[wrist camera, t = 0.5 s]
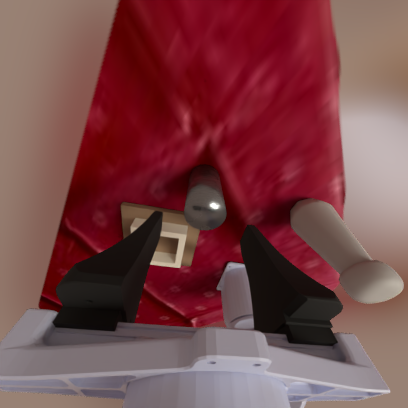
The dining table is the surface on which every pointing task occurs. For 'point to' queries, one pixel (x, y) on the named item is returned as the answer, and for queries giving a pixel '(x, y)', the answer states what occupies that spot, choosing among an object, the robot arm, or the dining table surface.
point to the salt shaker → (344, 252)
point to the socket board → (164, 234)
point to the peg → (204, 199)
